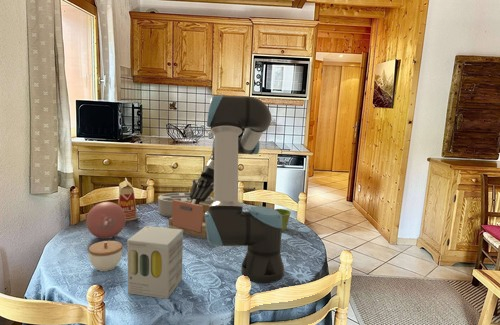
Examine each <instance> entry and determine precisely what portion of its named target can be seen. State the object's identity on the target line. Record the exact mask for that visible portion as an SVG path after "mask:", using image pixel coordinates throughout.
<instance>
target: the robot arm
mask: <svg viewBox="0 0 500 325" xmlns="http://www.w3.org/2000/svg"><path fill="white" fill-rule="evenodd" d="M208 106H209V108H208V114H207V120H206V127H208V128H210V133H211V134H212V135H213V136H214V138H213V142H212V151H211V155H210V157H209V159H208V161H207V162H206V164H205V165H204V168H203V169H202V171H201V173H200V177H198V179H196V180H195V179H193V180H192V186H191V188H190V192H189V193H190V196H189V197H190V198H191V199H192V200H191V202H190V203H193V204H198V205H199V203H200V202H204V201H205V200H206V199H207V197H208V196H209V195H210V196H211V194H212V193H213V200H214V201H213V203H212V204H211V205H210V206H209V211H207V212H205V222H206V231H207V237H206V238H207V242H208V244H209V246H213V247H223V248H224V247H247V248H246V249H247V250H246V254H245V256H244V258H243V260H242V263H241V274H242V276H243V275H245V276H248V277H249V278H250V280H249V281H252V282H256V283H262V284H263V283H265V284H267V283H274V282H277V281H279V280H281V279H283V277H284V276H285V274H284V273H285V267H284V262H283V259H282V253H281V247H282V233H283V231H282V227H283V226H282V215H281V214H280V213H279V212H278V211H276V210H274V208H271V207H267V206H259V205H254V206H250V207H249V209H248V211H243V205H242V204H241V203H240V202H239V155H258V154H259V153H260V152H259V151H260V138H261V137H262V136H263V133H264V132H266V131H267V130H268V129H269V127H270V125H271V123H272V113H271V111H270V108H269V107H268V106H267V105H266V104H265V103H264V102H263V101H262V100H260V99H259V98H256V97H254V96H239V95H237V96H235V95H225V94H221V95H213V96H211V98H210V100H209V105H208ZM243 129H244V131H243ZM242 133H243V134H242ZM241 134H242V137H241V138H240V137H239V136H240V135H241Z"/></svg>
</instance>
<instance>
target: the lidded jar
mask: <svg viewBox="0 0 500 325" xmlns="http://www.w3.org/2000/svg"><path fill="white" fill-rule="evenodd" d="M88 253H89V261H90V263H91V266H92V267H93V268H95V269H96V270H97V269H98V270H100V271H99V272H103V271H104V272H109V271H108V270H110V271H112V270H114V269H115V268H116V267H117V266H118V265H119V263H120V261H121V259H122V253H123V244H122V243H121V242H120V241H116V240H103V241H99V242H95V243H92V244H91V245H90V246H89V247H88ZM98 270H97V271H98Z"/></svg>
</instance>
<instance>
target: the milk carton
mask: <svg viewBox="0 0 500 325" xmlns="http://www.w3.org/2000/svg"><path fill="white" fill-rule="evenodd" d="M118 189H119V190H118V191H119V192H118V201H117V205H119V206H120V207H121V208H122V209H123V211H124V213H125V216H126V222H127V221H128V222H129V221H133V220H137V218H138V214H137V204H136V197H135V191H134V187H133V185H132V184H131V182H129V181H128V179H127V177H125V178H124V181H122V182H120V183H119V185H118Z"/></svg>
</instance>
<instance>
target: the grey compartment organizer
mask: <svg viewBox="0 0 500 325" xmlns="http://www.w3.org/2000/svg"><path fill="white" fill-rule="evenodd" d="M189 196H190V192H169V193H163V194H161V195H158V197H157V201H158V213H159V215H161V216H163V217H169V218H172V200H179V201H184V202H188V201H191V200H192V199H191V198H190V197H189ZM213 201H214V197H212V196H211V194H210V195H209V196H208V197H207V199H206V200H205V201H204V202H200V203H204V204H209V205H211V204H212V203H213Z"/></svg>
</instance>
